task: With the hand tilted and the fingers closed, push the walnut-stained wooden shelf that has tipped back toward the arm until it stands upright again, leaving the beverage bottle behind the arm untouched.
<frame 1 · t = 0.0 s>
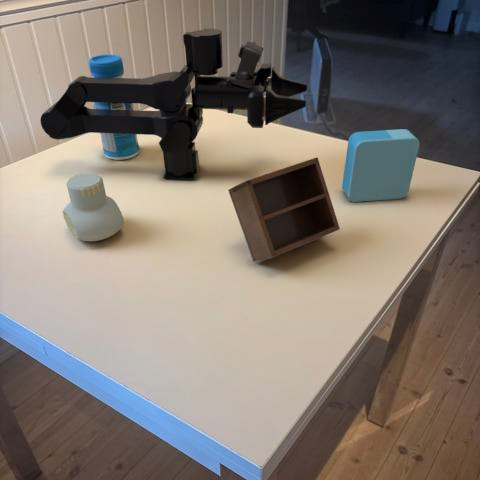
hand: (306, 95, 91), 17 cm above the table, tool horizontal, fingers open, 9 cm apart
beverage bottle: (122, 154, 113), on the table
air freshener: (97, 233, 87), on the table
shelf: (285, 209, 78), point 7 cm above the table, hinge at 35.0°
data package: (373, 196, 96), on the table
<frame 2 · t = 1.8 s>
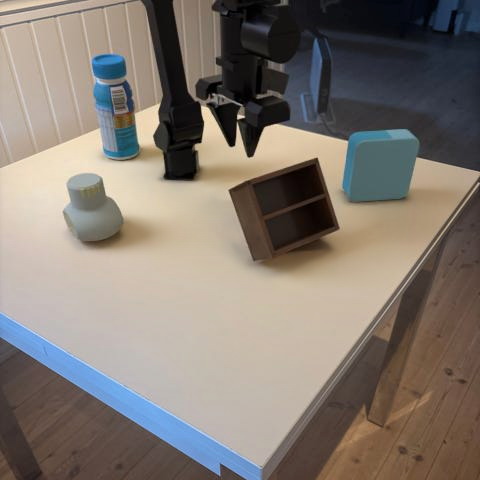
hand: (241, 151, 83), 12 cm above the table, tool pointing down, fingers open, 5 cm apart
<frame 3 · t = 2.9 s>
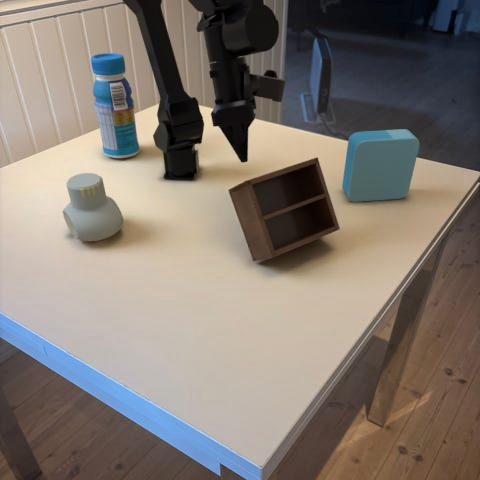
hand: (244, 161, 83), 11 cm above the table, tool tilted 15°, fingers closed
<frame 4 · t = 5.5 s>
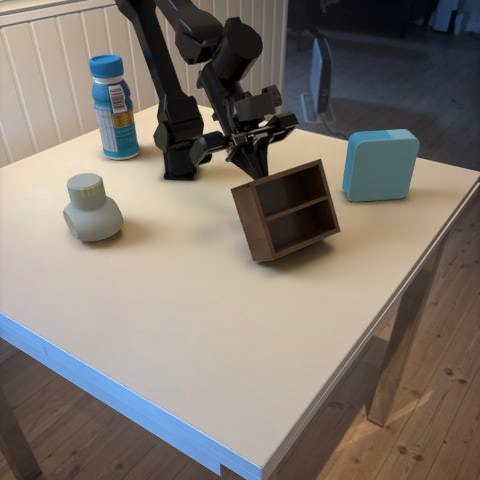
hand: (266, 186, 80), 9 cm above the table, tool tilted 45°, fingers closed, pressing on shelf
shelf: (286, 210, 78), point 7 cm above the table, hinge at 31.4°, touching gripper
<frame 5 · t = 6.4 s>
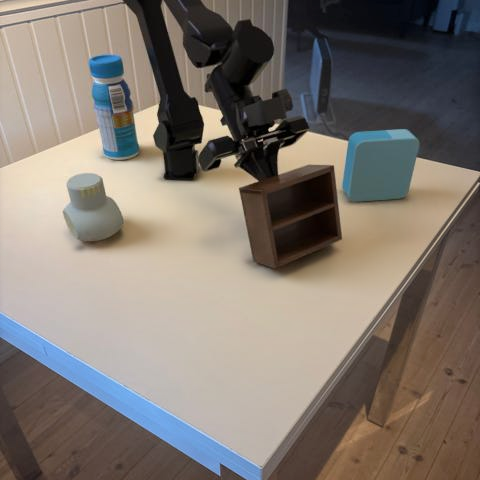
hand: (276, 192, 78), 9 cm above the table, tool tilted 45°, fingers closed, pressing on shelf
shelf: (292, 214, 77), point 7 cm above the table, hinge at 18.8°, touching gripper
everything else where it was.
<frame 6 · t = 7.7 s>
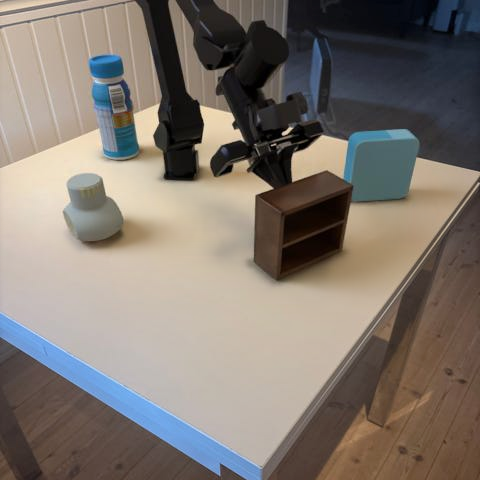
hand: (290, 198, 76), 9 cm above the table, tool tilted 45°, fingers closed, pressing on shelf
shelf: (301, 224, 76), point 6 cm above the table, hinge at -1.8°, touching gripper
everything else where it was.
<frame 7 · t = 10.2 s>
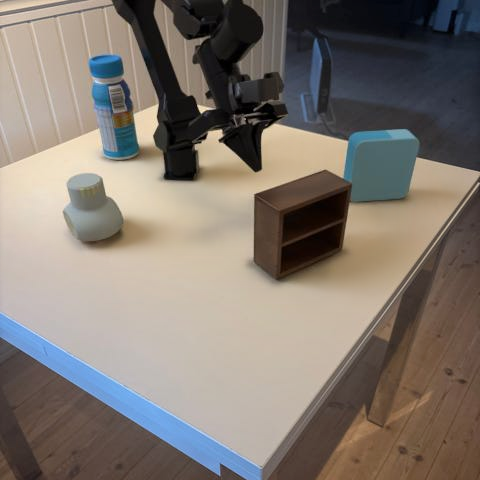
hand: (258, 171, 81), 11 cm above the table, tool tilted 40°, fingers closed
shelf: (301, 224, 76), point 6 cm above the table, hinge at -0.4°
everything else where it was.
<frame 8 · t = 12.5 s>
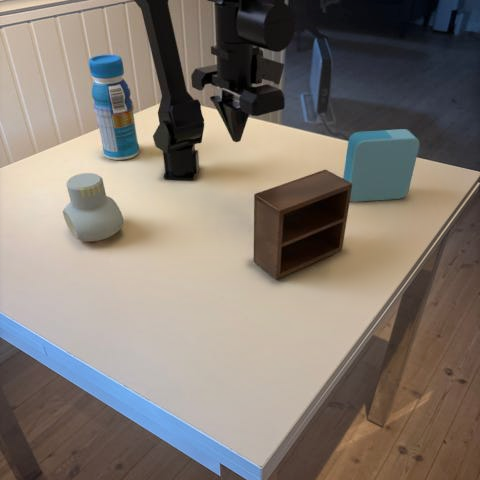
hand: (236, 141, 84), 13 cm above the table, tool pointing down, fingers closed
nothing on the table moved.
at the end: shelf at +0° (first picture: +35°); beverage bottle moved 0.2 cm from its start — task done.
